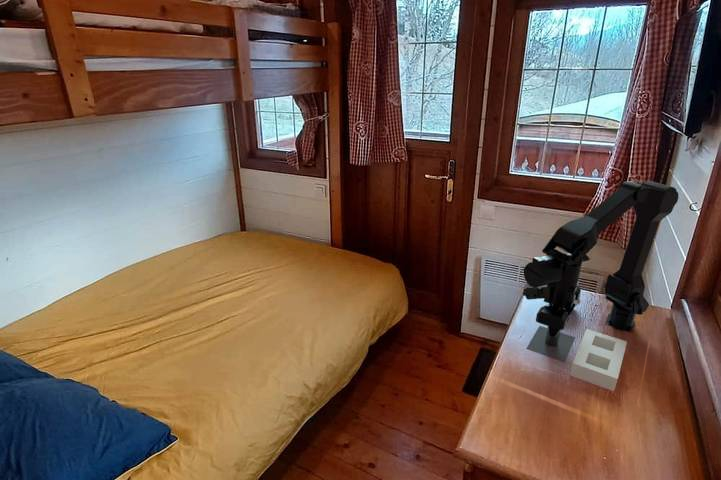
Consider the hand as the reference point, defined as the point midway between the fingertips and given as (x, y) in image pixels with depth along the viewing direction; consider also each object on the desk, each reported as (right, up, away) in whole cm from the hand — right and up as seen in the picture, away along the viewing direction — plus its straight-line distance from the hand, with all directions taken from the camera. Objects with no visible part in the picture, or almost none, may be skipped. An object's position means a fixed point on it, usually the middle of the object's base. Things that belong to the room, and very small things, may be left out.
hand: (553, 332), depth 109 cm
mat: (0, -3, +1) cm, 4 cm away
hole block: (+8, -6, -6) cm, 12 cm away
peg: (0, -3, +1) cm, 3 cm away
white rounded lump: (+9, +3, +17) cm, 19 cm away
